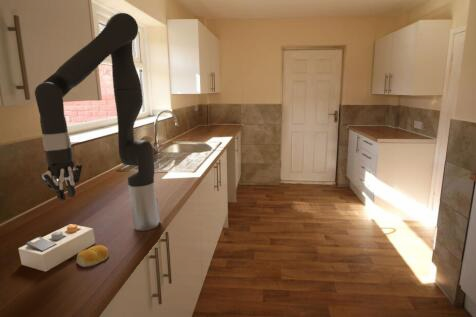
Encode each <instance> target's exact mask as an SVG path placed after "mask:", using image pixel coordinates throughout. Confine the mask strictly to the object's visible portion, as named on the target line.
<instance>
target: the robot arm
mask: <svg viewBox="0 0 476 317" xmlns="http://www.w3.org/2000/svg"><path fill="white" fill-rule="evenodd" d="M138 33H139V25H138V23H137V21H136V19H135V18H134V17H133V16H132V15H131V14H129V13H126V12H118V13H115V14H113V15H112V16H110V18H109V19H108V20H107V21H106V24H105V27H104V28H103V29H102V31H100V32H99V33H98V35H96V36H95V37H94V38H93V39H92V40H91V41H90V42H89V43H88V44H86V45H85V46H83V47H82V48H81V49H79V50H78V51H77V52H76V53H74V54H73V55H72V56H70V58H69V59H66V61H64V62H63V63H62V64H61V65H60V66H59V67H58V68H57V70H56V71H55V72H54V73H53V74H51V75H50V76H49V77H48V78H46V79H45V80H44V81H42V82H41V83H39V84H38V85H37V86H36V87H35V89H34V98H35V100H36V105H37V110H38V113H39V122H40V124H39V125H40V130H41V134H42V145H43V149H44V150H43V151H44V155H45V162H46V164H47V165H48V166H47V170H46V171H45V172H44V173H41V174H39V175H40V176H39V178H40V179H41V180H42V181H43V183H44V184H45V185H46V186H47V188H48V190H55V193H56V197H57V199H58V200H59V201H63V202H64V201H65V200H66V194H65V189H64V184H63V183H66V184H65V185H66V190H67V196H68V198H69V197H70V198H74V197H75V196H76V189H75V185H76V183H79V182H80V177H81V173H82V168H83V165H81V164H75V162H74V161H73V160H74V154H73V149H72V145H71V142H72V141H71V138H70V135H69V131H68V125H67V118H66V117H65V107H64V97H65V96H66V95H67V94H68V93H69V92H70V91H71V90H72V89H74V88H76V87H77V86H79V85H80V84H81V83H82V82H83V81H85V79H87V77H88V76H90V75H91V74H92V72H94V71H95V70H96V68H98V67H99V66H100V65H101V64H102V62H104V61H105V60H106V59H107V58H108V57H109V56H110V57H111V69H112V70H111V72H112V73H111V74H112V83H113V84H112V85H113V95H114V103H115V109H116V117H117V119H116V120H117V131H118V132H117V133H118V134H117V135H118V136H117V138H118V140H117V141H118V155H119V159H120V161H121V163H122V164H123V165H126V166H137V167H138V168H137V170H138V171H137V172H136V173H133V174H131V175H129V176H128V177H127V184H128V185H127V186H128V192H129V200H130V201H129V202H130V207H131V215H132V223H133V229H134V230H135V231H139V232H143V231H144V232H145V231H150V230H153V229H155V228H157V227H158V226H159V224H160V223H161V217H160V208H159V207H160V206H159V200H158V198H157V197H156V195H157V194H156V186H155V157H154V149H153V144H152V143H151V142H150V141H149V140H142V139H141V140H140V139H139V140H138V139H135V138H134V137H135V135H134V129H135V128H134V126H135V123H136V121H137V118H138V116H139V114H140V113H141V110H142V106H143V90H142V84H141V79H140V77H139V73H138V70H137V69H136V65H135V62H134V61H135V60H134V55H133V54H134V53H133V52H134V50H133V42H134V40H136V37H137V36H138ZM64 181H65V182H64Z"/></svg>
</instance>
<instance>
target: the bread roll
mask: <svg viewBox="0 0 476 317" xmlns="http://www.w3.org/2000/svg"><path fill="white" fill-rule="evenodd" d="M109 254H110V253H109V249H108V248H107V247H106V246H104V245H102V244H97V245H94V246H93V245H92V246H90V247H88V248H87V249H84V250H83V251H81V252H79V253H77V254H76V255H77V256H76V264H78V265H79V267H83V268H87V267H91V266H95V265H97V264H100V263H102V262H104V261H105V260H107V259H108V257H109Z"/></svg>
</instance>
